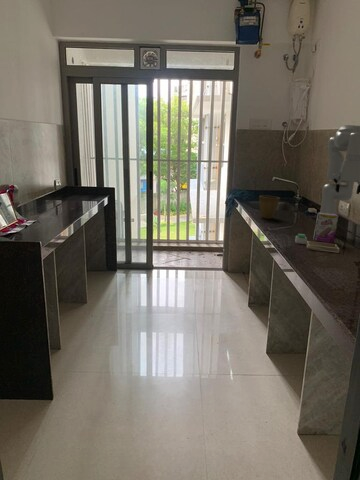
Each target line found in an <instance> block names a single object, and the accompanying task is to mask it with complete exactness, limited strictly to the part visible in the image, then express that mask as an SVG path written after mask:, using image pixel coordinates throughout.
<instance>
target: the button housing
mask: <svg viewBox="0 0 360 480" xmlns="http://www.w3.org/2000/svg"><path fill="white" fill-rule="evenodd" d="M306 241H308V239H307V236H305V239H304V238H298V235H295V238H294V242H295V244H302V245H306Z"/></svg>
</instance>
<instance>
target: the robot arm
mask: <svg viewBox="0 0 360 480" xmlns="http://www.w3.org/2000/svg"><path fill="white" fill-rule="evenodd" d="M342 152H346V155H345V157H344V155H343V154H342ZM327 153H328V158H329V160H328V167H327V175H326V178H327V180H328V181H329V182H334V183H326V184H323V186H322V189H321V195H322V196H321V204H320V205H321V206H320V211H319V213H327V214H336V215H337V209H338V206H337V203H336V202H335V200H337V201H339V200H340V201H349V200H351V199H352V195H353V191H354V184H355V183H357V184H358V185H357V188H356V193H355V194H357V195H360V125H353V124H352V125H351V124H347V125H346V124H345V125H342V126H340V127H339V128H338V130H337V131H336V133H335V134H334V136H332V137H330V138H329V139H328V141H327ZM341 183H344V184H341ZM314 231H315V229H314V230H313V232H314Z"/></svg>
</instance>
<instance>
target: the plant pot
mask: <svg viewBox="0 0 360 480" xmlns="http://www.w3.org/2000/svg"><path fill="white" fill-rule="evenodd" d="M258 197H259V198H258V199H259V200H258V201H259V202H258V203H259V210H260V216H261V219H272V218H273V216H274V215H275V212H276V211H277V207H278V205H279V203H280V197H279V196H275V195H274V196H273V195H264V194H263V195H260V194H259V196H258Z"/></svg>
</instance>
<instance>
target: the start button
mask: <svg viewBox="0 0 360 480" xmlns="http://www.w3.org/2000/svg"><path fill="white" fill-rule="evenodd" d="M297 236H298V238H304V239H305V237H306V233H297Z"/></svg>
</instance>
